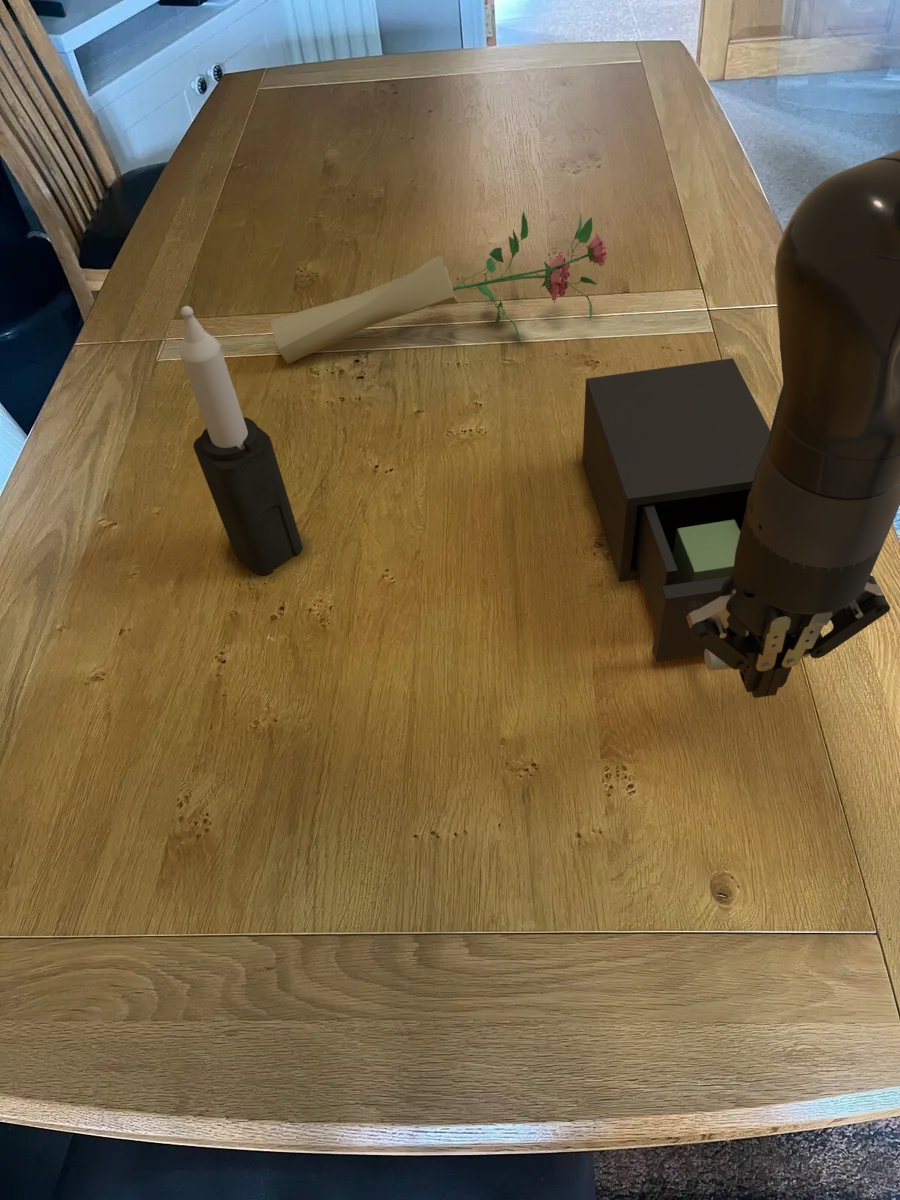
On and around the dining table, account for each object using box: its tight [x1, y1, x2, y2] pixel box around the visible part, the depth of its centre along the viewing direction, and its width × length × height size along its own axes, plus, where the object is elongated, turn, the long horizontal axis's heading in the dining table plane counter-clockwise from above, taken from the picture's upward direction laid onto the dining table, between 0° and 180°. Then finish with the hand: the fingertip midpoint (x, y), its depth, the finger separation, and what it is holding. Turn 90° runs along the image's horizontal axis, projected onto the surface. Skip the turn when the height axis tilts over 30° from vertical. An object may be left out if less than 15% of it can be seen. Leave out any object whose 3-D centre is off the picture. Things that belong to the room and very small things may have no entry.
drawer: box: [632, 489, 810, 672], centre depth 72 cm, size 18×12×8 cm, turn 7°
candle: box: [179, 305, 303, 577], centre depth 74 cm, size 5×5×25 cm
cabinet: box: [581, 357, 771, 582], centre depth 79 cm, size 15×13×10 cm
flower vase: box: [270, 211, 608, 364], centre depth 99 cm, size 12×12×35 cm
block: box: [673, 520, 740, 584], centre depth 73 cm, size 5×5×5 cm
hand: (759, 685), depth 65 cm, fingers closed
